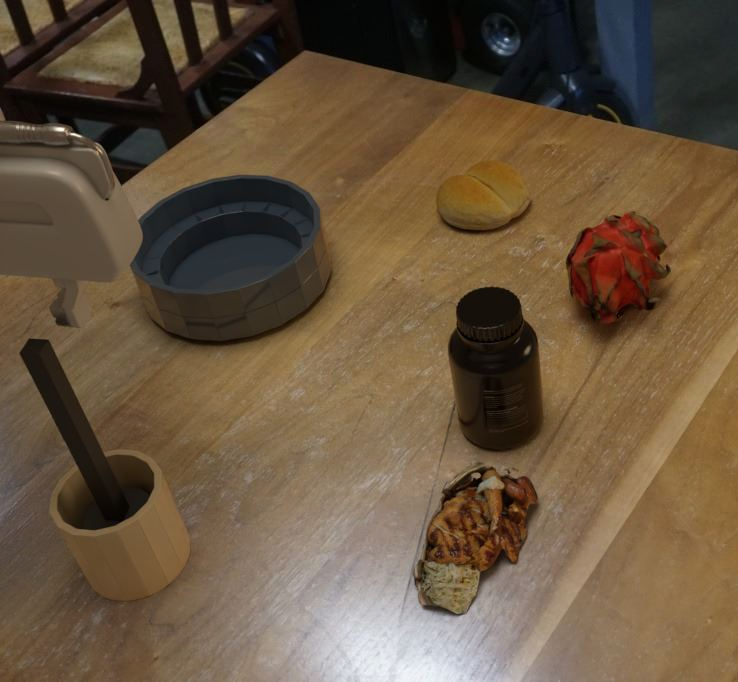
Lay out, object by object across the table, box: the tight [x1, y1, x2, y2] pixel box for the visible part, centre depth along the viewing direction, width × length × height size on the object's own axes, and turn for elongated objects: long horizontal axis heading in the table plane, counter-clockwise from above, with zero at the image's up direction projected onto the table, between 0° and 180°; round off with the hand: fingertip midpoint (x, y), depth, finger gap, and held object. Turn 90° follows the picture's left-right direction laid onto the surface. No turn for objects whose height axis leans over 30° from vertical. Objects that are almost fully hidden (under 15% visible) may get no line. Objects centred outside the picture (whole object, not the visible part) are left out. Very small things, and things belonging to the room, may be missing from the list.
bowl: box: [128, 174, 332, 342], centre depth 100 cm, size 17×17×6 cm
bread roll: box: [435, 160, 532, 231], centre depth 107 cm, size 8×9×4 cm
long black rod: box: [19, 338, 150, 530], centre depth 72 cm, size 5×5×21 cm
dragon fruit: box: [565, 210, 672, 325], centre depth 95 cm, size 8×8×12 cm
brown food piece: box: [412, 457, 539, 615], centre depth 78 cm, size 7×12×4 cm, turn 163°
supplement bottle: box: [447, 286, 544, 450], centre depth 83 cm, size 7×7×12 cm
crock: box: [48, 448, 191, 602], centre depth 77 cm, size 7×7×8 cm
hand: (3, 315), depth 66 cm, fingers open, 8 cm apart
